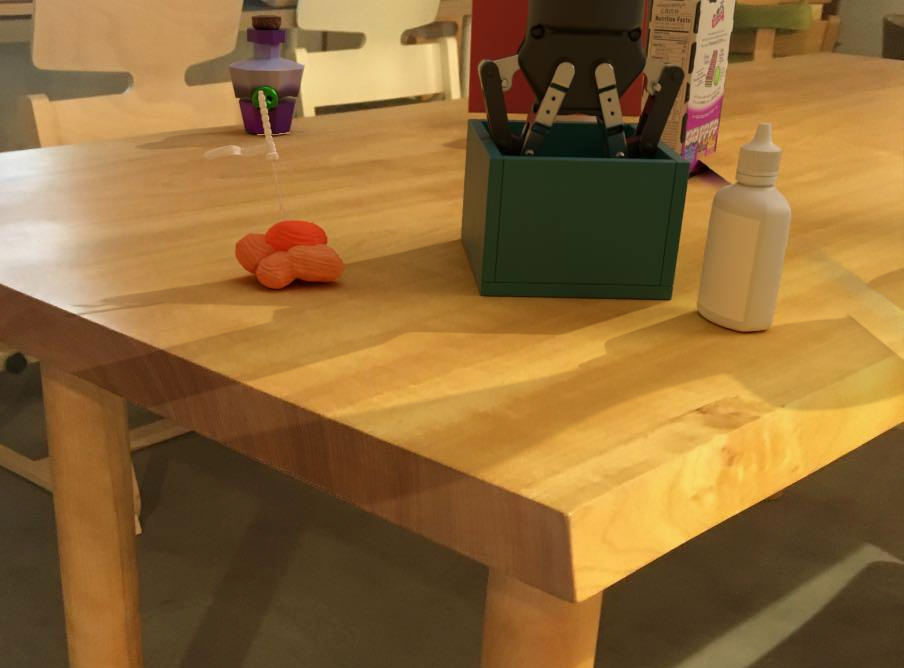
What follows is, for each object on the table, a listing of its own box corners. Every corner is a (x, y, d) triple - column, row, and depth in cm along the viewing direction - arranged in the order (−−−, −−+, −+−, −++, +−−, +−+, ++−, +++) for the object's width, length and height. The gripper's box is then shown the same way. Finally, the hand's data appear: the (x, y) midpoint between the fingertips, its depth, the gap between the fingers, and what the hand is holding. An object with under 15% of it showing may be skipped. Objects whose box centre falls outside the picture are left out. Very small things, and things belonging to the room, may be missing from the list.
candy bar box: (667, 160, 129) (690, -13, 121) (714, 166, 126) (741, -10, 119) (627, 177, 120) (650, -8, 112) (678, 184, 118) (704, -5, 110)
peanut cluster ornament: (227, 262, 89) (222, 84, 83) (356, 274, 87) (360, 92, 81) (195, 284, 83) (188, 96, 78) (331, 298, 81) (334, 105, 76)
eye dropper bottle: (700, 331, 77) (732, 129, 71) (694, 305, 82) (722, 114, 76) (773, 336, 76) (810, 133, 71) (762, 310, 81) (796, 118, 76)
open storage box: (671, 299, 83) (691, 162, 79) (480, 295, 83) (489, 157, 79) (624, 241, 97) (638, 122, 93) (460, 238, 97) (467, 118, 93)
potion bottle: (241, 140, 133) (238, 18, 128) (219, 127, 140) (216, 11, 135) (317, 136, 136) (318, 18, 131) (292, 124, 143) (292, 11, 138)
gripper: (688, -51, 83) (655, 208, 91) (474, -57, 83) (459, 203, 90) (718, -47, 76) (679, 232, 84) (485, -53, 76) (468, 228, 84)
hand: (565, 216), depth 87 cm, fingers open, 4 cm apart
